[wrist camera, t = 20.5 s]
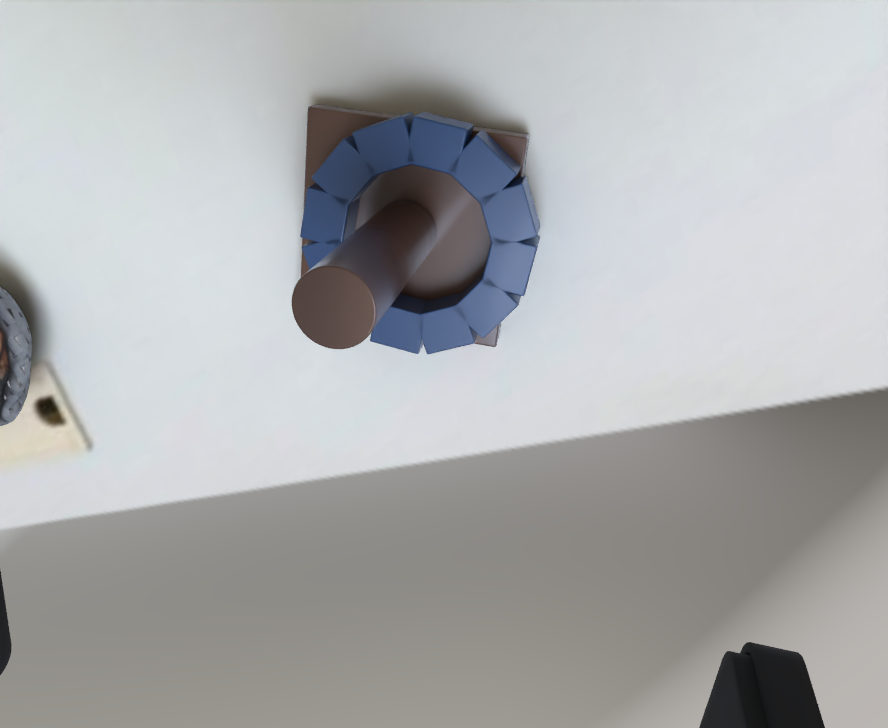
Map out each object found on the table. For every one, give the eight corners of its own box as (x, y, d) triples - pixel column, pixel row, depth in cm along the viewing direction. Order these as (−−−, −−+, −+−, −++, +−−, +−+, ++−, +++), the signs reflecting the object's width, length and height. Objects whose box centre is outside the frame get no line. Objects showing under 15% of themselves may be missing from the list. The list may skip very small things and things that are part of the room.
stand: (529, 133, 29) (499, 183, 20) (498, 338, 32) (460, 462, 23) (316, 103, 30) (192, 137, 21) (306, 305, 33) (196, 412, 24)
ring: (501, 82, 27) (495, 85, 26) (563, 308, 30) (561, 323, 28) (283, 153, 30) (267, 159, 28) (359, 358, 32) (348, 373, 31)
